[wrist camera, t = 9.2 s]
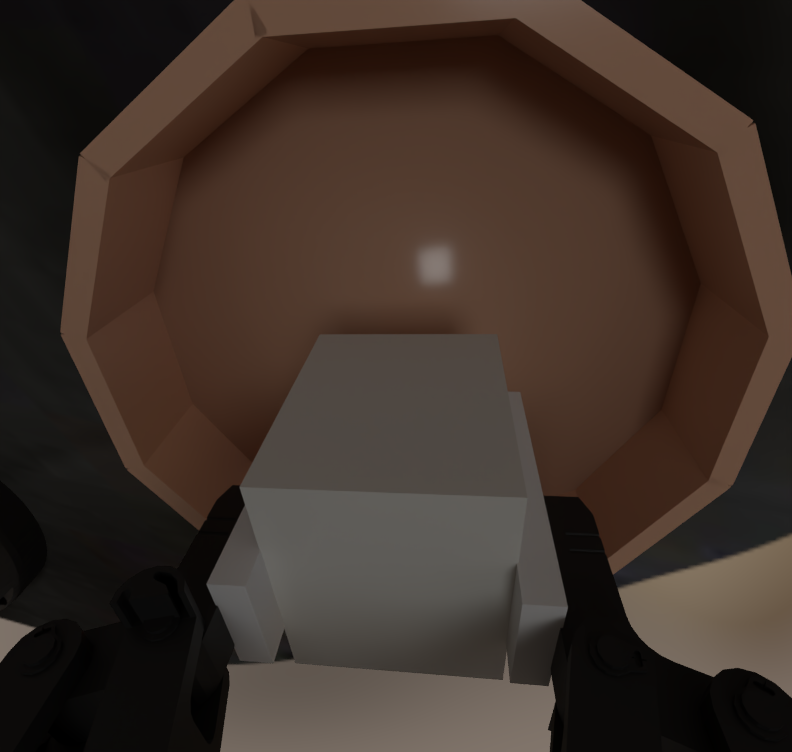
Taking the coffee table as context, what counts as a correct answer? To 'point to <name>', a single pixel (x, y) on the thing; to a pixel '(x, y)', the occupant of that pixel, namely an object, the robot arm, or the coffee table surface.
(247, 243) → the bowl
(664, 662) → the robot arm
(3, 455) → the coffee table surface
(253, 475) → the grey cube
